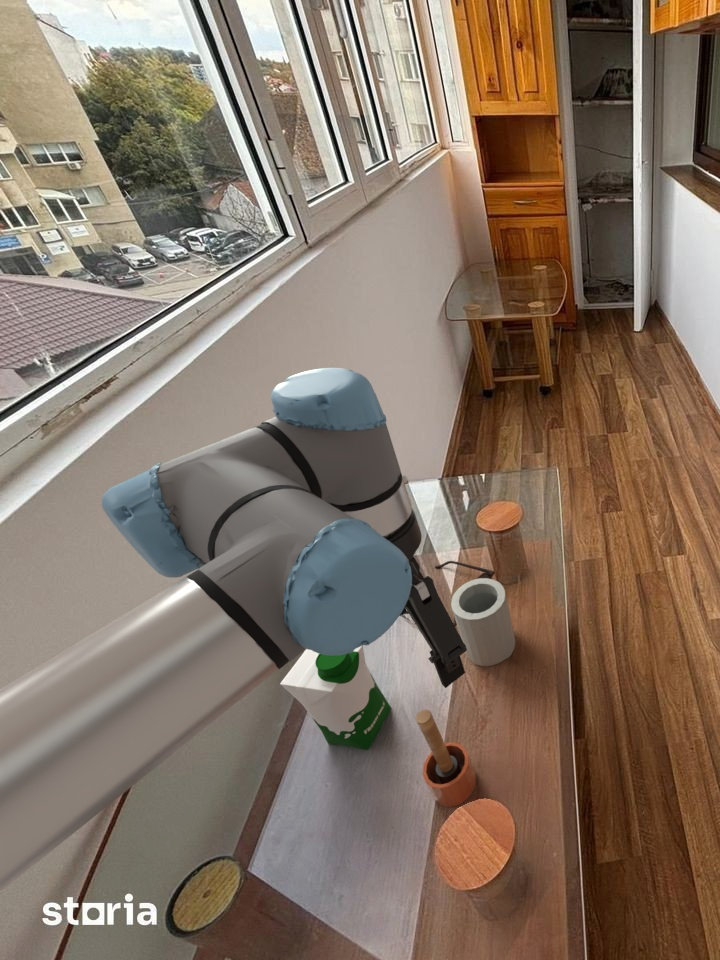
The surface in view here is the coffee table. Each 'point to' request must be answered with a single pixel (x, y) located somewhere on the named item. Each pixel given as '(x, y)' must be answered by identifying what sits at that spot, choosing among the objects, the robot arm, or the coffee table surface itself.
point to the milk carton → (339, 696)
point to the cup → (484, 621)
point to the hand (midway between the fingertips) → (423, 645)
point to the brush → (438, 748)
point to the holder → (456, 788)
